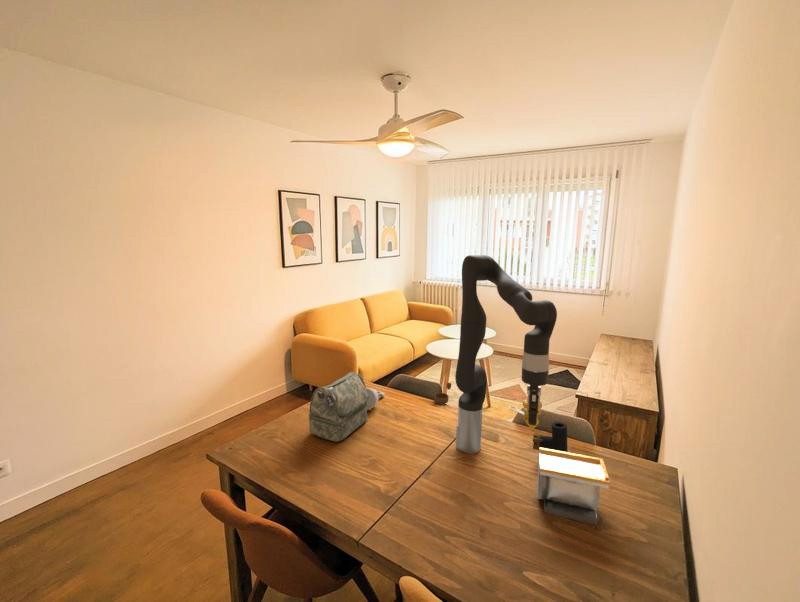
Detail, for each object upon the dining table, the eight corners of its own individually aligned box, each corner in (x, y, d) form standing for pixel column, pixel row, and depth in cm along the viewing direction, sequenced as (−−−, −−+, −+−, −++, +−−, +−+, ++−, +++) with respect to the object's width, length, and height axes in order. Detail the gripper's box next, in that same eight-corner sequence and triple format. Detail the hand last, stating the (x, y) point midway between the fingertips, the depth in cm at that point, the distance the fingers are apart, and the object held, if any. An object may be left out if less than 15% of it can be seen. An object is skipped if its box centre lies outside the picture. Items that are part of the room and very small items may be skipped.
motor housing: (537, 511, 110) (540, 466, 108) (536, 486, 121) (539, 445, 119) (604, 526, 104) (609, 480, 102) (597, 499, 115) (602, 457, 113)
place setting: (420, 401, 186) (420, 390, 186) (447, 392, 199) (448, 381, 198) (445, 414, 173) (445, 402, 172) (472, 403, 185) (473, 392, 185)
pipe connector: (533, 464, 134) (532, 425, 133) (534, 456, 139) (533, 419, 137) (567, 469, 129) (566, 429, 128) (567, 461, 134) (567, 422, 133)
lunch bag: (338, 447, 143) (337, 394, 140) (302, 435, 152) (301, 385, 148) (373, 419, 166) (373, 373, 163) (341, 410, 174) (340, 366, 171)
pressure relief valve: (531, 432, 108) (532, 399, 107) (503, 417, 119) (503, 387, 118) (545, 427, 111) (545, 395, 110) (516, 414, 121) (516, 384, 120)
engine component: (354, 409, 173) (355, 387, 174) (365, 401, 193) (366, 382, 194) (376, 411, 171) (377, 389, 172) (385, 403, 191) (386, 383, 192)
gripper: (522, 358, 118) (520, 408, 120) (521, 372, 104) (518, 428, 107) (548, 361, 115) (545, 411, 118) (549, 376, 102) (546, 432, 104)
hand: (532, 419), depth 112 cm, fingers closed on pressure relief valve, 6 cm apart
